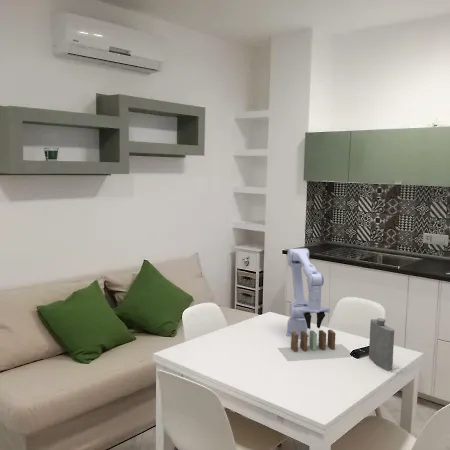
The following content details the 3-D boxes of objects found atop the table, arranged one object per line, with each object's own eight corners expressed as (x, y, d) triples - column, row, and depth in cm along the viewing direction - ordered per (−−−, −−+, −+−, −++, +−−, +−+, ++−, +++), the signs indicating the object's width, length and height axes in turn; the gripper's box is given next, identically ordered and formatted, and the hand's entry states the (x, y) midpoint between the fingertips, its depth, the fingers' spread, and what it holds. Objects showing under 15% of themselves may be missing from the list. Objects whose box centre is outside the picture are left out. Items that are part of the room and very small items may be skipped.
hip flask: (393, 370, 214) (396, 324, 211) (385, 371, 213) (387, 325, 210) (373, 356, 229) (375, 313, 227) (365, 357, 228) (367, 314, 226)
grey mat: (288, 361, 222) (288, 361, 222) (277, 348, 238) (277, 348, 238) (356, 357, 228) (356, 356, 228) (341, 344, 244) (341, 344, 244)
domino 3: (322, 350, 235) (323, 333, 234) (318, 346, 240) (318, 330, 239) (325, 350, 235) (326, 333, 234) (321, 346, 240) (322, 330, 239)
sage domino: (313, 351, 234) (313, 334, 233) (309, 347, 239) (309, 330, 238) (316, 350, 235) (316, 334, 234) (312, 346, 239) (313, 330, 238)
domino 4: (331, 349, 236) (332, 333, 235) (327, 346, 241) (327, 329, 240) (334, 349, 236) (335, 333, 235) (330, 345, 241) (331, 329, 240)
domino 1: (294, 352, 232) (294, 335, 231) (290, 348, 237) (291, 331, 236) (297, 352, 233) (298, 335, 232) (294, 348, 238) (294, 331, 237)
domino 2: (303, 351, 233) (304, 334, 232) (300, 347, 238) (300, 331, 237) (307, 351, 234) (307, 334, 233) (303, 347, 238) (303, 331, 237)
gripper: (302, 302, 229) (301, 331, 230) (332, 301, 231) (331, 329, 233) (297, 298, 235) (296, 326, 237) (326, 296, 238) (325, 325, 240)
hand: (313, 328), depth 236 cm, fingers open, 4 cm apart
